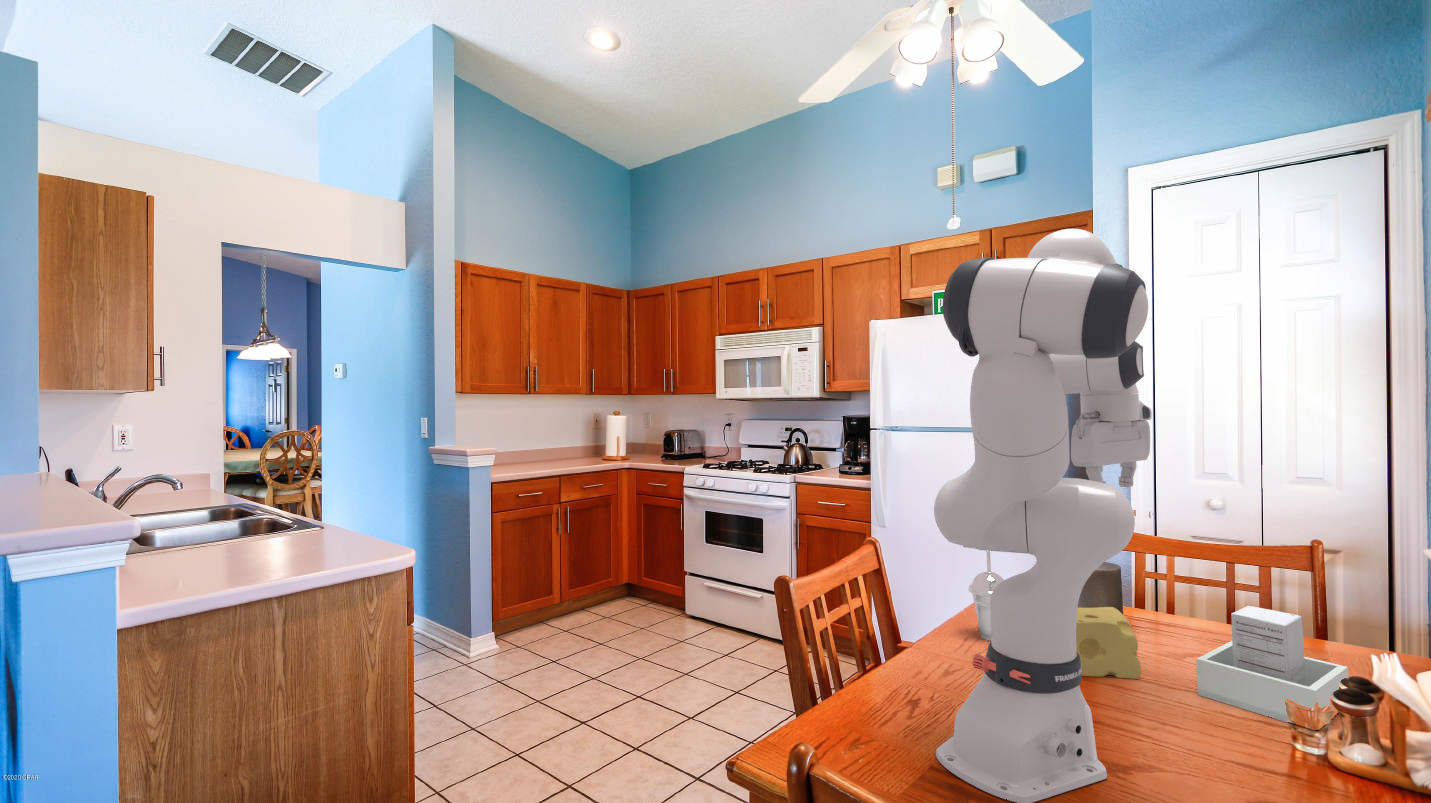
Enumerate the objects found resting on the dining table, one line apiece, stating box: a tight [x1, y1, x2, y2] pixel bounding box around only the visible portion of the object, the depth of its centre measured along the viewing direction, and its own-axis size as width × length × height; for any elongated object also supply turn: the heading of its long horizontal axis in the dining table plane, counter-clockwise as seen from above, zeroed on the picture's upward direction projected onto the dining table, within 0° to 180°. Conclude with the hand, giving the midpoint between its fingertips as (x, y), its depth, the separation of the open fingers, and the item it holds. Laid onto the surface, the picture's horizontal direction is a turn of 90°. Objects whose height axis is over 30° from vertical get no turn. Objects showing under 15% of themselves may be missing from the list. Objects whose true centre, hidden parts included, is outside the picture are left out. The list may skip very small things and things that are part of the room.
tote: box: [1195, 640, 1349, 724], centre depth 103 cm, size 15×15×6 cm
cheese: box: [1076, 607, 1142, 680], centre depth 118 cm, size 10×11×10 cm
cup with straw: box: [963, 546, 1005, 642], centre depth 135 cm, size 8×9×20 cm
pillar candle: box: [1078, 561, 1124, 615], centre depth 139 cm, size 10×10×15 cm
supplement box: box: [1231, 605, 1306, 686], centre depth 103 cm, size 7×7×13 cm
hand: (1112, 489), depth 111 cm, fingers open, 8 cm apart
